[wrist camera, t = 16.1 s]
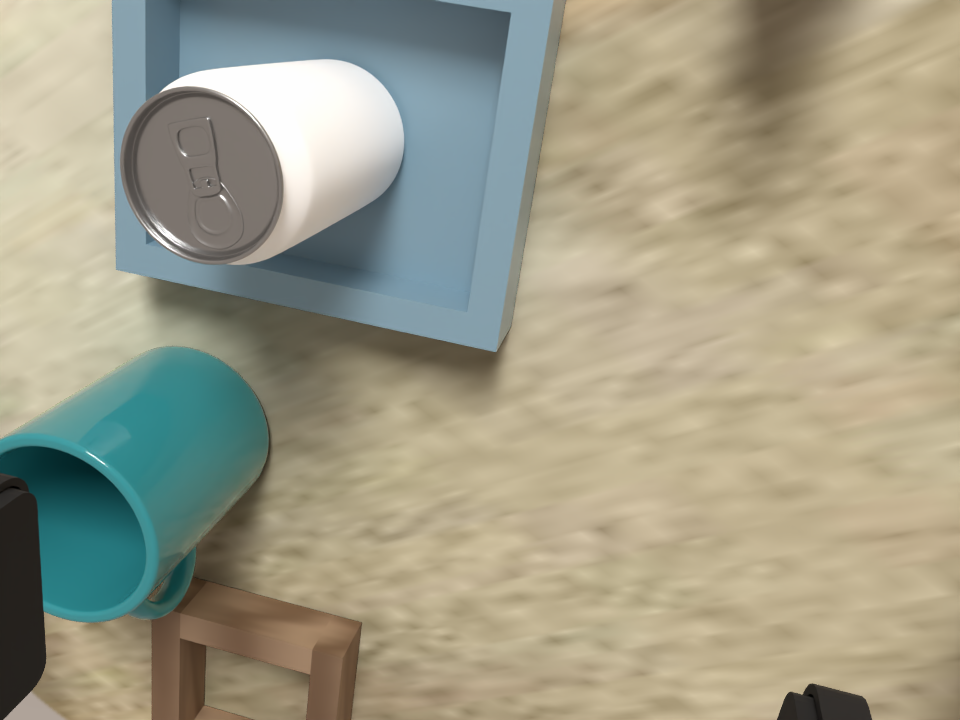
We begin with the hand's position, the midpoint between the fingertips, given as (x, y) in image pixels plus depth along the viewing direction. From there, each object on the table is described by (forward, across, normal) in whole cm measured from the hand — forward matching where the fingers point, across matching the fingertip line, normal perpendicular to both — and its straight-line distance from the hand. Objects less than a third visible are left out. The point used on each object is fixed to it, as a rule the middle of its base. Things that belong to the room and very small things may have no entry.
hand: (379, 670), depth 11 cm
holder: (+30, +14, +31) cm, 46 cm away
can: (+30, +12, -1) cm, 32 cm away
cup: (+31, +18, +17) cm, 40 cm away
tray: (+30, +12, -1) cm, 33 cm away
